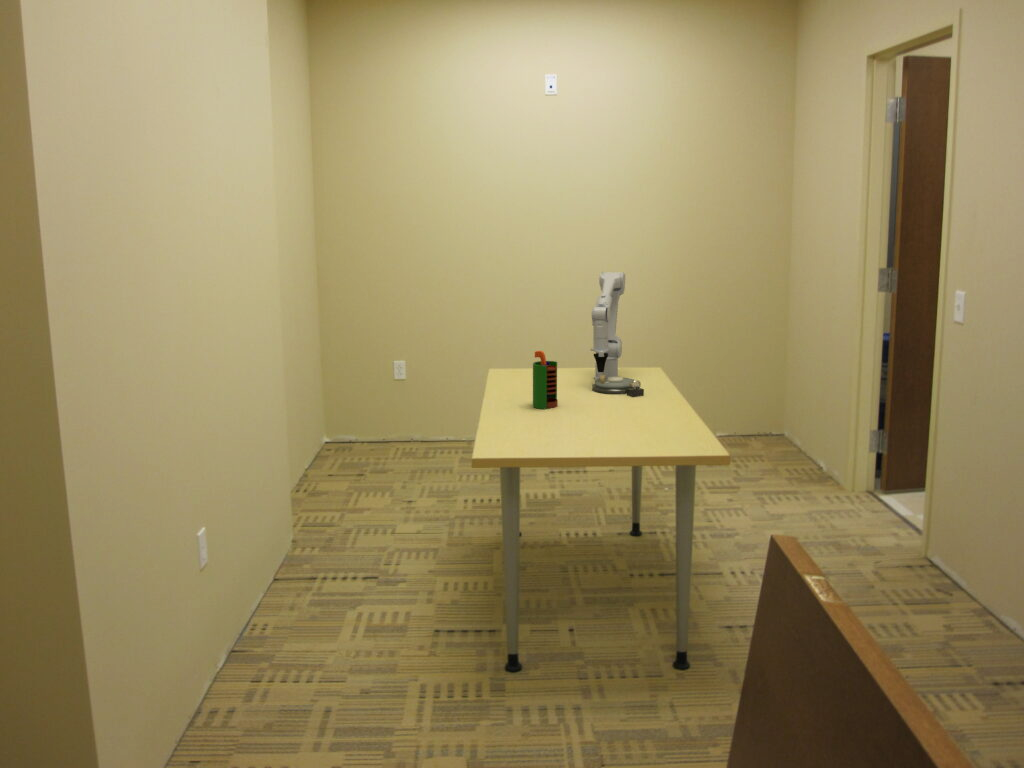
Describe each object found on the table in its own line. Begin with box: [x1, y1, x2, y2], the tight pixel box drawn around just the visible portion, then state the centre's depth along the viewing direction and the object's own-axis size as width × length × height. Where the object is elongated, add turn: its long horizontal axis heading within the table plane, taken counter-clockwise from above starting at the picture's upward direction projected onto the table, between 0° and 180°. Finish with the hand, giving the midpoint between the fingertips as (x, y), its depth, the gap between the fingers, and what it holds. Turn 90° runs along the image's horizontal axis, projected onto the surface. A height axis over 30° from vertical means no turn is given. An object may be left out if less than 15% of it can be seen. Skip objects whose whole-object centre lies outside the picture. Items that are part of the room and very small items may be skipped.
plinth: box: [591, 382, 629, 395], centre depth 349 cm, size 18×18×2 cm
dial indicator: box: [626, 379, 645, 398], centre depth 338 cm, size 5×5×6 cm
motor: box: [532, 350, 559, 410], centre depth 322 cm, size 10×9×20 cm
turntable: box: [594, 375, 635, 389], centre depth 348 cm, size 16×16×4 cm
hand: (600, 371), depth 350 cm, fingers closed
